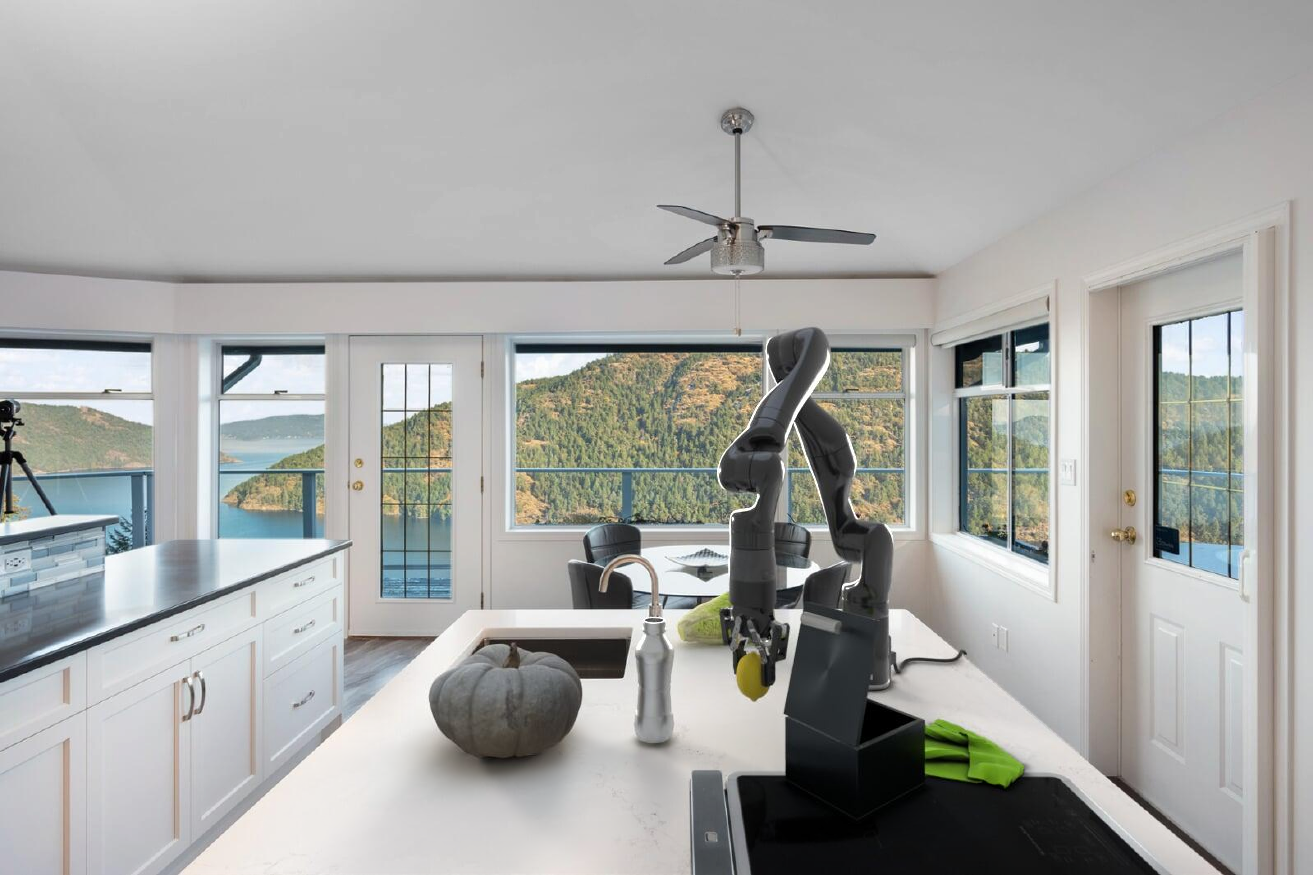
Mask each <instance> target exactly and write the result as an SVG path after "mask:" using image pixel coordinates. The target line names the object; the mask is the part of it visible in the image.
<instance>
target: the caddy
mask: <svg viewBox="0 0 1313 875" xmlns="http://www.w3.org/2000/svg"><path fill="white" fill-rule="evenodd" d="M784 723H785V724H784V727H785V728H784V759H785V760H784V761H785V762H784V771H785V772H784V780H785V781H784V784H785V785H786V786H788V787H790V788H791V789H793V790H795V791H796V792H798V793H800V794H802V795H804V796H805V797H807V798H809V799H811V800H812V801H814V802H815V803H817V804H818V805H821V806H823V807H824V808H826V809H828V810H830V811H831V812H833V813H835V814H837V815H838V816H840V817H842V818H843V819H845V820H847V821H848V822H850V823H852V824H854V825H856V826H859V825H861V824H863V823H865V822H866V821H868V820H870V819H872V818H873V817H875V816H877V815H879V814H880V813H882V812H884V811H886V810H888V809H889V808H891V807H893V806H895V805H896V804H898V803H900V802H902V801H904V800H905V799H908V798H909V797H911V796H913V795H914V794H915V795H916V793H918V792H920V791H922V790H923V789H925V788H926V775H925V725H926V720H925V719H924V718H921V717H918V716H916V715H913V714H911V713H908V712H905V711H903V710H900V709H898V708H895V707H891V706H889V705H887V704H884V703H881V702H879V701H877V700H873V699H871V698H869V697H867V702H866V708H865V714H864V719H863V725H862V731H861V737H860V743H859V747H854V746H852V745H850V744H848V743H846V742H844V741H841V740H839V739H837V738H835V737H833V736H830V735H828V734H826V733H824V732H822V731H820V730H817V729H815V728H813V727H811V726H809V725H807V724H804V723H802V722H800V721H798V720H796V719H793V718H791V717H789V716H787V715H786V716H785V717H784Z"/></svg>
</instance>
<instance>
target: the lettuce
mask: <svg viewBox="0 0 1313 875" xmlns="http://www.w3.org/2000/svg"><path fill="white" fill-rule="evenodd" d="M731 606H732V607H733V605H732V604H731V603H730V602H729V590H728V591H726V592H723V593H722V594H720V595H718V596H716V597H714V598H713V599H711V600H709V601H707V602H704V603H701V604H698V605H697V606H695V607H694V608H693V609H691V610H690V611H689V612H688V613H686V614H684V615H683V616H682V617H681V618H680V619H679V620H678V621H677V624H676V628H677V633H678V635H679V636H678V637H679V638H680V640H681V641H683V642H688V643H692V642H693V643H695V642H696V643H699V644H700V643H701V644H707V645H724V643H723V639H722V631H721V623H720V615H719V610H720V609H722V608H726V607H731ZM773 613H774V616H775V617H776V615H775V614H776V613H775V607H774V608H773ZM728 632H729V637H730V636H731V631H730V629H729V630H728ZM763 640H764V639H762V640H761V641H763ZM747 643H754V642H753V640H751V639H750V638H749V639H748V642H747Z"/></svg>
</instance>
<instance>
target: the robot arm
mask: <svg viewBox="0 0 1313 875" xmlns="http://www.w3.org/2000/svg"><path fill="white" fill-rule="evenodd" d="M765 355H766V360H767V364H768V365H767V366H768V368H769V371H770V373H771V376H772V378H773V380H774V383H775V384H776V386H774V387H773V388H771V390H770V391H769V392H768V393H767V394H766V395H765V396H764V397H763V398H762V399H761V400H760V402H759V403H758V405H757V406H756V408H755V409H754V412H753V413H752V416H751V418H750V421H749V423H748V425H747V427H746V429H745V430H744V431H743V432H741V434H739V436H738V437H737V438H736V439H735V440H734V441H733V442H732V443H731V444H730V445H729V446H728V447H727V448H726V450H725V451H724V453H723V454H722V456H721V458H720V460H719V464H718V467H717V479H718V483H719V485H720V487H721V488H722V489H723V490H725V491H726V492H728V493H731V494H741V495H742V494H743V495H757V497H756V501H755V503H754V505H753V506H751V507H745V508H739V509H736V510H734V511H732V513H731V514H730V517H729V553H728V554H729V555H728V591H729V602H730V603H731V604H732V605H733V607H732V606H731V607H726V608H722V609H720V610H719V615H720V623H721V631H722V639H723V643H724V644H723V645H724V646H728V647H729V648H730V651H731V652H732V670H733V674H734V675H735V676H736V673H737V667H738V663H739V661H740V660H741V658H742V657H744V656H745V655H747V650H745V649H746V647H747V645H748V643H749V642H748V639H749V638H750V639H751V640H753V642H752V643H753V645H754V648H755V649H756V650H757V651H758V654H759V655H760V657H761V661H762V663H761V685H762V686H764V687H769V686H770V687H771V686H773V685H774V684H775V683H776V680H777V678H776V676H777V675H776V671H777V670H776V668H777V667H776V665H777V663H778V662H782V661H785V660H786V659H787V656H788V654H787V653H788V648H789V647H788V646H789V639H790V631H791V625H790V624H789V623H788V622H783V623H781V622H780V621H778V620H776V615H775V616H774V613H775V612H774V613H773V608H774V609H775V606H776V604H777V601H778V600H777V558H776V552H775V518H776V514H777V508H778V504H779V500H780V495H781V492H782V489H783V486H784V482H785V476H786V467H785V463H784V461H783V459H782V457H781V455H780V454H781V453H782V452H783V451H784V449H785V448H786V445H787V443H788V440H789V438H790V435H791V432H792V430H793V427H795V430H796V433H797V435H798V436H797V437H798V438H799V441H800V444H801V447H802V448H801V449H802V451H803V454H804V457H805V459H806V463H807V465H808V468H809V471H810V473H811V475H812V478H813V480H814V483H815V486H816V489H817V492H818V495H819V499H820V502H821V504H822V508H823V511H824V515H825V520H826V523H827V528H828V532H829V536H830V539H831V544H832V546H833V549H834V552H835V553H836V555H837V557H838V558H839V559H840V560H841V561H843V562H846V563H847V564H852V565H858V566H860V575H859V578H857V579H852V580H848V581H846V582H844V583H843V584H842V587H841V611H845V612H849V613H853V614H856V615H860V616H864V617H868V618H872V619H875V620H879V621H880V625H879V631H878V637H877V643H876V649H875V655H874V661H873V667H872V672H871V678H870V684H869V690H868V691H878V690H883V689H887V688H888V687H889V686H890V683H891V682H892V666H893V670H894V672H895V673H896V674H901V673H902V672H903V669H904V668H905V665H906V664H908V663H910V662H911V663H912V662H929V663H941V664H943V663H954V662H957V661H958V660H960V659H961V657H962V655H964V656H967V655H968V653H967V650H965V649H964V648H961V649H960V650H959V651H958V653H957V655H956V656H955V657H952V658H932V657H917V656H915V657H908V658H905V659H903V661H901V663H900V665H899V667H898V664H897V651H893V650H892V636H891V634H890V592H891V588H892V585H893V571H894V570H893V568H894V555H895V554H894V551H895V546H894V544H895V543H894V542H895V541H894V537H893V533H892V531H891V529H890V527H889V526H888V525H887V524H885V523H883V522H879V521H871V520H864V519H859V518H858V517H857V515H856V513H855V511H854V507H853V504H852V500H851V490H852V486H853V483H854V480H855V476H856V473H857V457H856V453H855V451H854V447H853V445H852V441H851V439H850V436H849V433H848V431H847V429H846V428H845V427H844V426H843V424H841V423H840V422H839V421H838V420H837V419H836V418H835V417H834V416H833V415H832V414H830V413H829V412H828V411H826V410H825V409H824V408H823V407H822V406H821V405H820V404H819V403H818V402H816V400H815V399H813V397H812V396H811V394H812V393H813V392H814V390H815V388H816V387H817V385H818V384H819V382H820V381H821V380H822V378H823V377H824V375H825V374H826V372H827V370H828V368H829V366H830V362H831V358H832V350H831V345H830V341H829V338H828V336H827V335H826V333H825V332H824V331H823V330H822V329H821V328H820V327H817V326H807V327H802V328H798V329H795V330H791V331H788V332H784V333H780V334H777V335H774V336H772V337H770V338H769V339H768V340H767V343H766V346H765ZM729 629H730V631H731V636H730V637H729V632H728V630H729ZM762 639H763V640H765V639H766V640H765V641H763V640H762ZM767 651H768V652H767Z"/></svg>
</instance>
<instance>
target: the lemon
mask: <svg viewBox="0 0 1313 875" xmlns="http://www.w3.org/2000/svg"><path fill="white" fill-rule="evenodd" d="M761 663H762V661H761V657H760V654H759V653H757V652H756V651H753V650H752V651H750V653H746V655H745V656H744V657H742V658H741V660H740V661H739V663H738V667H737V673H736V675H735V679H736V684H737V688H738V689H739V692H740V693H741V694H742V695H743V696H744V697H746V698H748V699H749V700H750V701H751V702H757V701H758V700H759V699H762V698H764V697H765V696H766V695H767V693H768V692H769V690H770V688H771V686H769V687H764V686H762V685H761Z"/></svg>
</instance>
